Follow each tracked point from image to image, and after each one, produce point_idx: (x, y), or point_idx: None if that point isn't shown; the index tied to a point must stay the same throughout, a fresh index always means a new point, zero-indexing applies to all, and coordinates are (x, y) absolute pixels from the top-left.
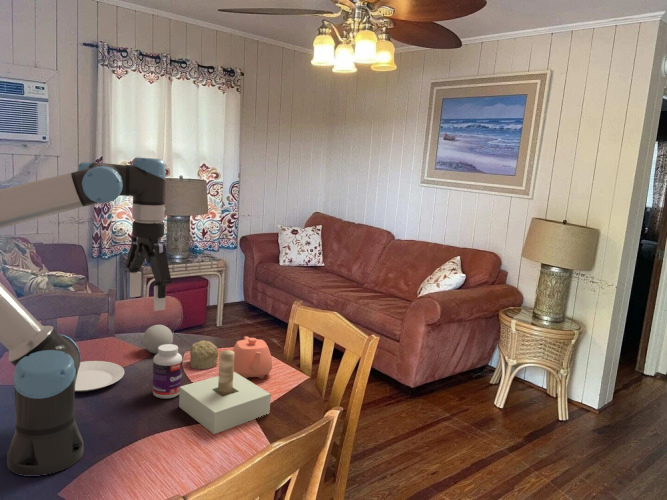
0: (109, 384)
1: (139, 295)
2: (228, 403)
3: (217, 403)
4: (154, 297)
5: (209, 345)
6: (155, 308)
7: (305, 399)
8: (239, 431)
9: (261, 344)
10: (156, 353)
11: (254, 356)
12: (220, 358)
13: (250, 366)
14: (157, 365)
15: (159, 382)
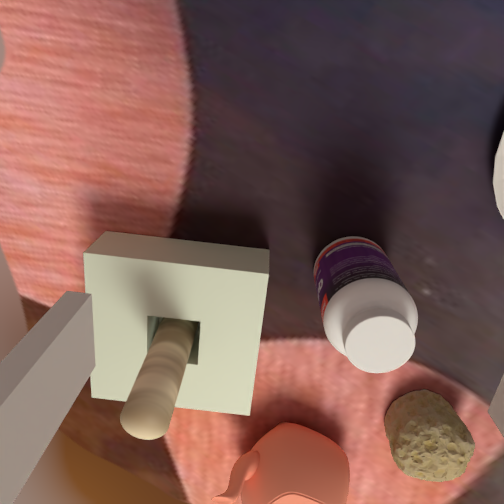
0: (494, 172)
1: (494, 406)
2: (106, 303)
3: (122, 285)
4: (19, 363)
5: (418, 466)
6: (58, 305)
7: (117, 445)
8: (84, 276)
9: None
10: None
11: (257, 489)
12: (150, 391)
13: (253, 457)
14: (363, 277)
15: (344, 256)
